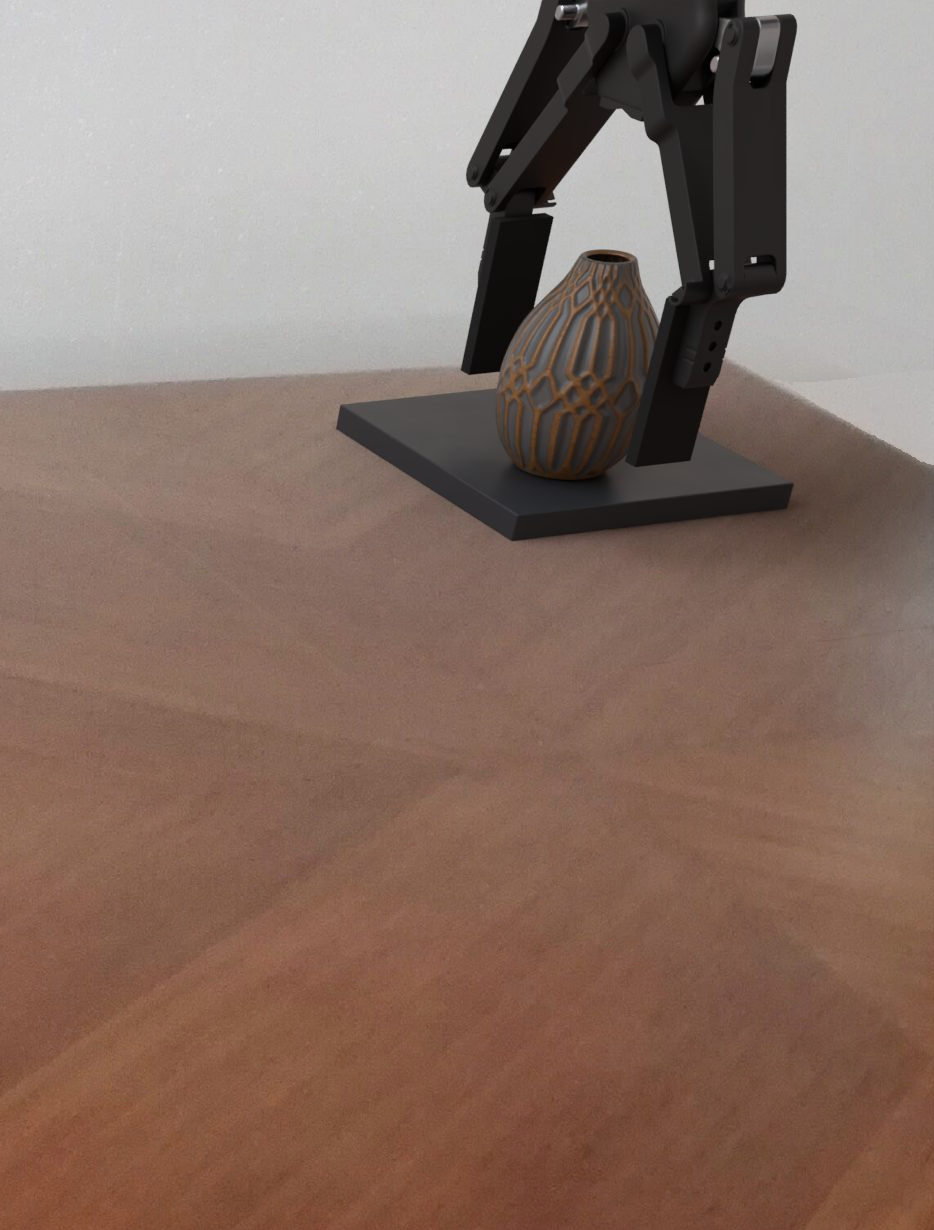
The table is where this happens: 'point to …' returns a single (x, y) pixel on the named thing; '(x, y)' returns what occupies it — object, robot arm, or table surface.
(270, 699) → the table surface
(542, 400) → the vase
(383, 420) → the scale
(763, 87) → the robot arm
